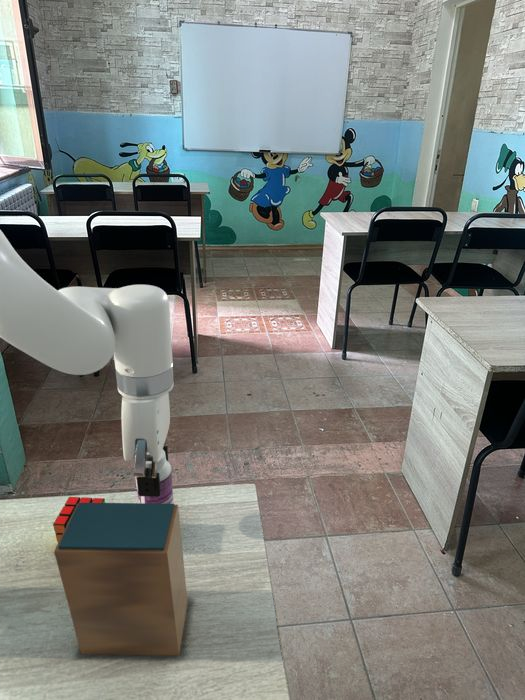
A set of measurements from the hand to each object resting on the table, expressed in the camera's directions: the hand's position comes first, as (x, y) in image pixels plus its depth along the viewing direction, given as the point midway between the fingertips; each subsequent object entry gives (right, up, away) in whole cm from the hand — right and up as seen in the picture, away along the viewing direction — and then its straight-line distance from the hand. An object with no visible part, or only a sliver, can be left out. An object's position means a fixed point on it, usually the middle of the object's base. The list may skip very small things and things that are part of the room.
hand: (154, 479), depth 73 cm
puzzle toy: (-11, -10, +2) cm, 15 cm away
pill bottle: (0, -5, +2) cm, 5 cm away
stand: (0, -16, -11) cm, 20 cm away
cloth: (0, 0, -19) cm, 19 cm away
